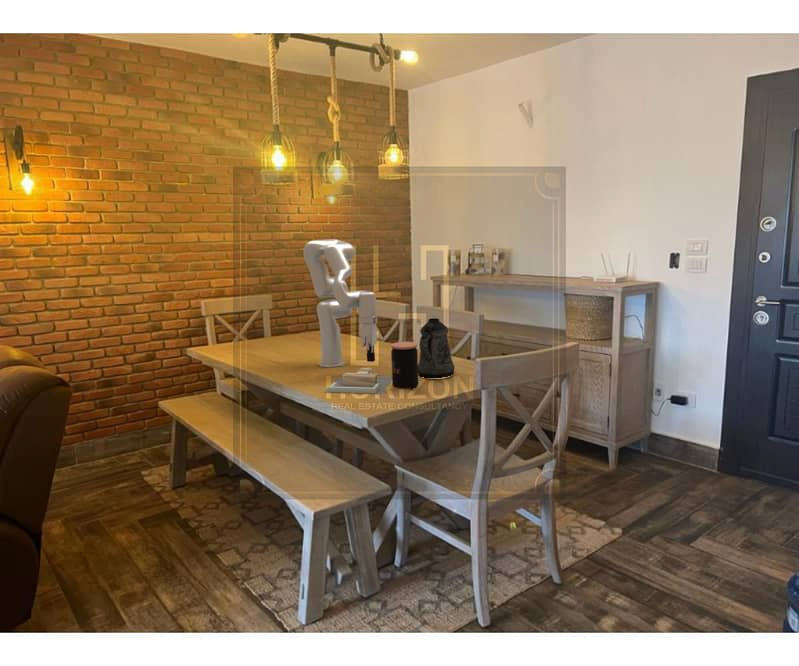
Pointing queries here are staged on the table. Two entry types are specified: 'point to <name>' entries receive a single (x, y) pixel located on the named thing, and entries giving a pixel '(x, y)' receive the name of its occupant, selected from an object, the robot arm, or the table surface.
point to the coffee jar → (404, 365)
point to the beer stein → (435, 351)
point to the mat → (359, 387)
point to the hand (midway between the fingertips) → (371, 361)
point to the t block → (361, 378)
